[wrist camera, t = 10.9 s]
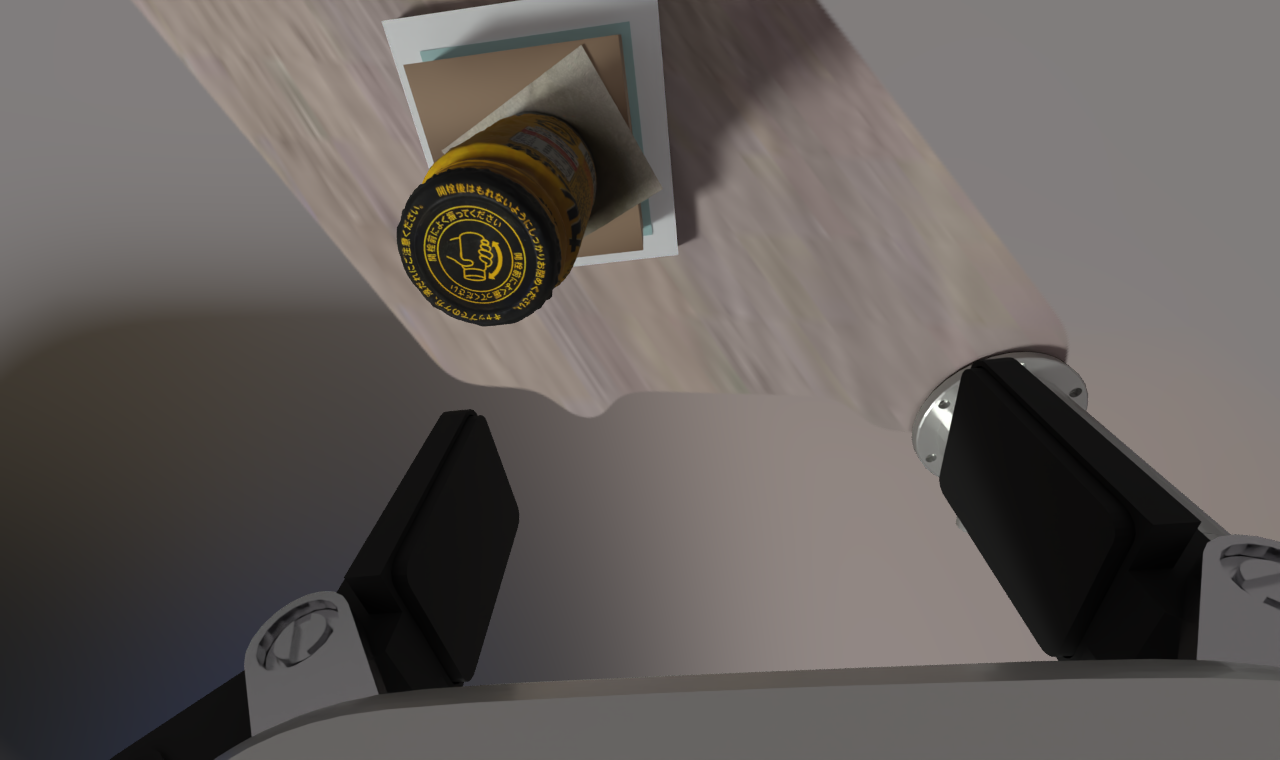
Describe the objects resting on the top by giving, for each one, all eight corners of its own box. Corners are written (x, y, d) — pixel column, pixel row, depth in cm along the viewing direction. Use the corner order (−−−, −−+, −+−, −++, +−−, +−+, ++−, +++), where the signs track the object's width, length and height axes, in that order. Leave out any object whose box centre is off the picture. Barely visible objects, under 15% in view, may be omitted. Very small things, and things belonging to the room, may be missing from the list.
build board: (677, 246, 35) (678, 255, 33) (470, 270, 36) (464, 279, 34) (655, -18, 27) (656, -21, 26) (393, 21, 28) (380, 21, 27)
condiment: (442, 150, 26) (318, 222, 16) (581, 44, 24) (536, 52, 14) (533, 268, 30) (476, 388, 20) (663, 187, 27) (674, 277, 17)
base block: (643, 227, 32) (643, 250, 29) (485, 245, 33) (467, 269, 30) (621, 34, 27) (618, 34, 23) (432, 60, 27) (403, 64, 24)
